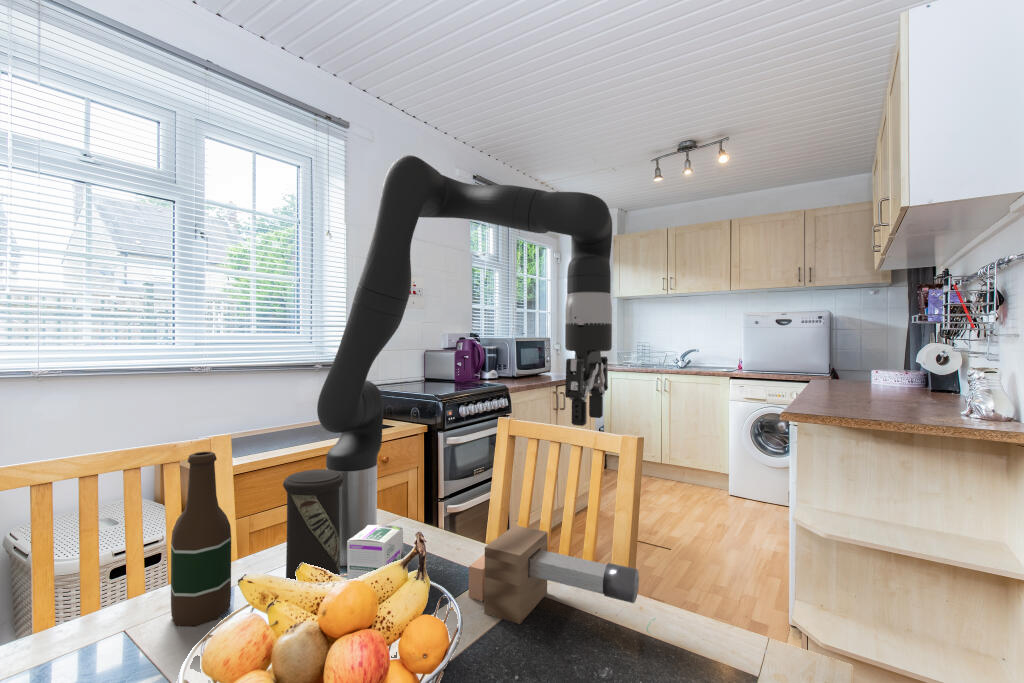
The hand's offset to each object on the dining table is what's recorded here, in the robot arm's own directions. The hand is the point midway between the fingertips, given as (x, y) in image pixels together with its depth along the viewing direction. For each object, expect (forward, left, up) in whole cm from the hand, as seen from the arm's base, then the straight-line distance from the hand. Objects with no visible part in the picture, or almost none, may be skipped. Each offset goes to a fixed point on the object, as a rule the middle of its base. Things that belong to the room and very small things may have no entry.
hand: (587, 421), depth 80 cm
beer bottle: (-49, -33, -28) cm, 66 cm away
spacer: (-14, -8, -26) cm, 30 cm away
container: (-38, -22, -28) cm, 52 cm away
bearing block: (-9, -8, -28) cm, 30 cm away
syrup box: (-22, -25, -28) cm, 44 cm away
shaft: (0, -8, -23) cm, 25 cm away
